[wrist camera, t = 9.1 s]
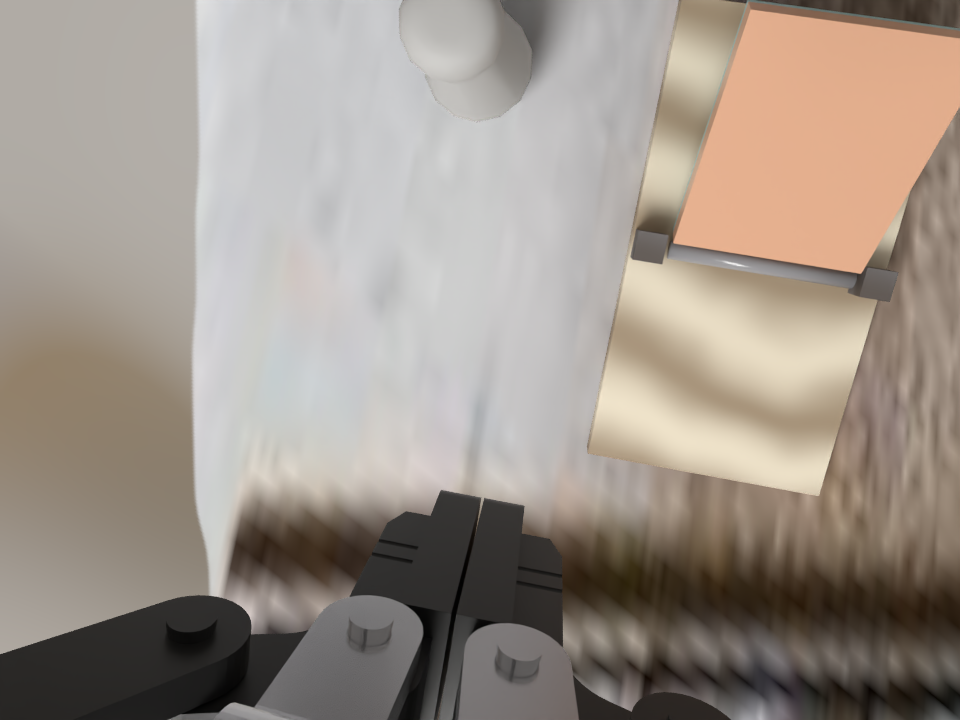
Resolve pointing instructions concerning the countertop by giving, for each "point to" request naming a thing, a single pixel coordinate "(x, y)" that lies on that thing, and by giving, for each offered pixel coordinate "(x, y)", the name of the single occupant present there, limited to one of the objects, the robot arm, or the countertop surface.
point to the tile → (815, 141)
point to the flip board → (723, 317)
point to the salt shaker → (467, 54)
